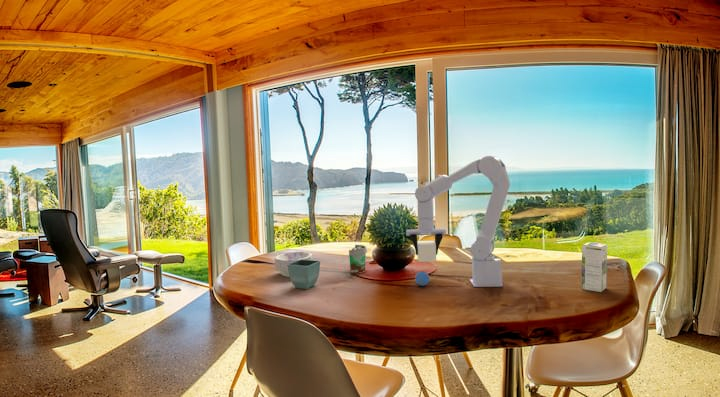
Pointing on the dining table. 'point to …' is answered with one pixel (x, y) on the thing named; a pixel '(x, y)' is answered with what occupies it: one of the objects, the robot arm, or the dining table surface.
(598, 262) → the syrup box
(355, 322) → the dining table surface
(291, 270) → the flower pot
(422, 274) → the ball
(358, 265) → the food container
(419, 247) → the white cube block
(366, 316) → the dining table surface
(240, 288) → the dining table surface
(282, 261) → the paper bowls
